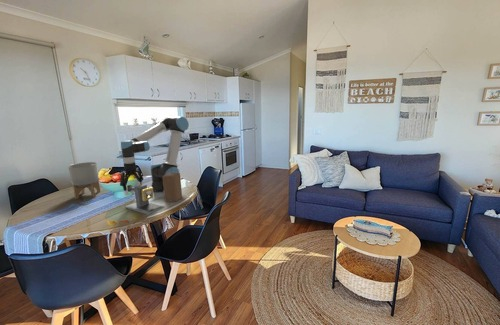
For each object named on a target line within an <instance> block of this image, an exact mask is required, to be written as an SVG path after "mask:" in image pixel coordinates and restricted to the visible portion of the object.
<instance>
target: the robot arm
mask: <svg viewBox="0 0 500 325" xmlns="http://www.w3.org/2000/svg"><path fill="white" fill-rule="evenodd" d="M188 129H189V121H188V119H187V118H186V117H185V116H180V115H177V116H173V115H171V116H170V115H169V116H167V117H165V118H164V119H161V120H160V121H158V122H157V124H156V125H155V124H154V125H153V126H152V127H150V128H149V129H146V130H145V131H144V132H142V133H140V134H139V135H136V136H135V137H134V138H133V137H132V139H128V140H122V141H120V149H121V154H122V162H123V168H124V170H123V171H120V181H119V182H120V183H119V186H120V187H122V189H123V191H124V194H125V196H128V195H130V194H129V192H128V187H127V186H128V185H127V184H128V181H129V179H130V177H131V176H134V177H135V179H136V180H137V186H139V185H142V184H143V183H142V182H143V181H144V177H143V175H142V172H141V167H137V165H136V158H135V157H136V156H135V154H138V153H142V152H143V153H144V152H148V151H149V150H150V143H149V141H151V140H152V139H155V137H157V136H159V135H160V134H162V133H166V132H168V131H170V133H171V134H170V138H169V144H168V147H167V148H168V149H167V153H166V156H165V157H166V158H165V161H164V162H158V163H157V162H156V163H153V164H151V165H150V172H151V173H150V174H151V185H150V187H153V193H161V192H164V187H163V178H162V177H163V176H164V175H166V174H168V173H180V170H179V168H178V166H179V165H178V163H177V162H178V156H179V152H180V147H181V142H182V136H183V135H184V134H185V131H187V130H188Z"/></svg>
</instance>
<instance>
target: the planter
mask: <svg viewBox="0 0 500 325" xmlns="http://www.w3.org/2000/svg"><path fill="white" fill-rule="evenodd" d="M67 167H68V172H69V177H70V181H71V182H70V183H71V185H72V189H73V193H74V194H73V195H74V198H75V200H78V199H79V198H80V197H79V196H80V194H82V195H83V194H85V188H87V189H88V191H89V192H90V193H91V196H92V198H96V192H97V193H101V187H100V182H99V181H100V177H99V178H98V175H99V170H98V165H97V162H96V161H95V162H94V161H87V162H79V163H74V164H70V165H68V166H67ZM95 190H96V192H95Z"/></svg>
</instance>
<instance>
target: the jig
mask: <svg viewBox="0 0 500 325" xmlns="http://www.w3.org/2000/svg"><path fill="white" fill-rule="evenodd" d="M141 184H142V185H139V186H138V185H136V186H133V187H134V190H135V192H134V195H135V202H133V203H131V204H128V205H125V208H126V209H128V210H132V211H135V212H138V213H142V214H145V215H150V214H152V213H154V211H155V212H156V210H157V211H159V210H161V209H163V208H165V205H164V204H160V203H157V202H153V201H150V199H149V200H146V201H143V199H142V193H141V192H140V190H141V189H146V188H148V185H147V184H144V183H141ZM148 196H149V195H146V197H148Z"/></svg>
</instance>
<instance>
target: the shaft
mask: <svg viewBox="0 0 500 325" xmlns="http://www.w3.org/2000/svg"><path fill="white" fill-rule="evenodd" d="M126 186H127V187H128V193H129V192H133V193H135V190H134V187H135V186H133V185H131V184H128V185H126ZM141 190H143V189H141ZM141 190H140V192H141V193H142V191H141ZM152 194H154V192H153V193H152V191H147V192H146V195H148V196H151V195H152Z"/></svg>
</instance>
